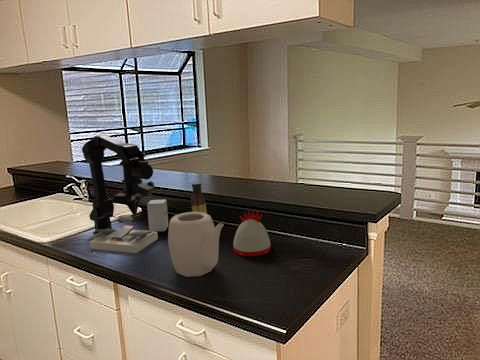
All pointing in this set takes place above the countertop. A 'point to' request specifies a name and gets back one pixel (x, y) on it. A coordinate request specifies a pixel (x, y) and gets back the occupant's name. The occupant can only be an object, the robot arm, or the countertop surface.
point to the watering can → (193, 243)
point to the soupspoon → (125, 218)
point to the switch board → (122, 242)
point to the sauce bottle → (198, 199)
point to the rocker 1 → (106, 231)
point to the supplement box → (157, 215)
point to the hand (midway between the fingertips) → (134, 214)
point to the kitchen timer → (251, 237)
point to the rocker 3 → (140, 233)
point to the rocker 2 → (123, 232)
